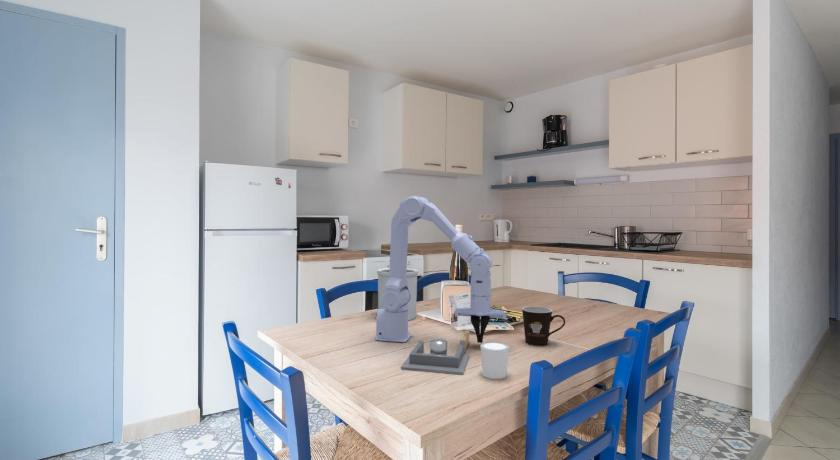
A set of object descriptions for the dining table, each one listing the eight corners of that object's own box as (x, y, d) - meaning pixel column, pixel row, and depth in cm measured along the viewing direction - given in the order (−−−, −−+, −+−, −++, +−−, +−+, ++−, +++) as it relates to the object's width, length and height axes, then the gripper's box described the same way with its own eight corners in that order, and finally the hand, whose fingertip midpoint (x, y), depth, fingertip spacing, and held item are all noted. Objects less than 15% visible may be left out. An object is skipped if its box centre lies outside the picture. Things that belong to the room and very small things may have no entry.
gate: (464, 354, 118) (464, 341, 118) (459, 354, 119) (460, 340, 119) (469, 341, 130) (469, 329, 130) (465, 341, 131) (465, 329, 130)
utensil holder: (394, 310, 171) (394, 266, 170) (425, 316, 162) (425, 269, 162) (368, 318, 159) (368, 270, 158) (401, 324, 150) (401, 273, 150)
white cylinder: (491, 382, 100) (491, 352, 99) (474, 372, 106) (474, 343, 106) (515, 377, 103) (515, 347, 103) (497, 367, 109) (497, 340, 109)
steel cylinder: (428, 361, 113) (428, 342, 113) (432, 356, 117) (432, 338, 117) (445, 363, 112) (445, 344, 112) (448, 357, 116) (448, 339, 116)
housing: (400, 369, 108) (400, 357, 108) (414, 351, 121) (414, 340, 121) (462, 374, 104) (463, 362, 104) (469, 356, 118) (469, 345, 118)
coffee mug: (516, 342, 130) (516, 309, 129) (530, 336, 136) (531, 305, 136) (552, 351, 122) (553, 316, 121) (566, 344, 128) (567, 311, 128)
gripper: (453, 296, 123) (453, 344, 123) (506, 298, 120) (505, 347, 121) (456, 292, 130) (456, 337, 130) (506, 294, 127) (505, 340, 127)
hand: (480, 341), depth 126 cm, fingers closed
